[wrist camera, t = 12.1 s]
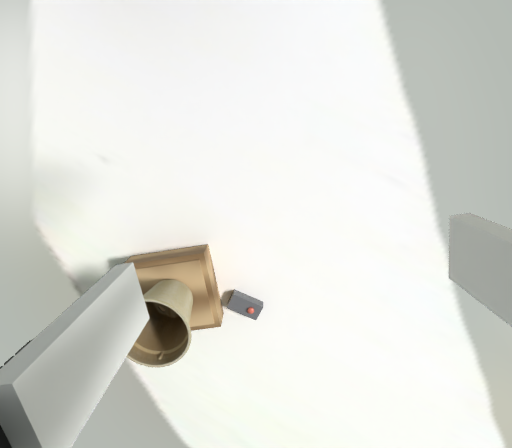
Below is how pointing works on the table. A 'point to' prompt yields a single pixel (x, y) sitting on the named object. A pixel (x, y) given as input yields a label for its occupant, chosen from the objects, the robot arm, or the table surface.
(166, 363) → the flower pot
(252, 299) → the clicker
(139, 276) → the plinth
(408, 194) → the table surface
